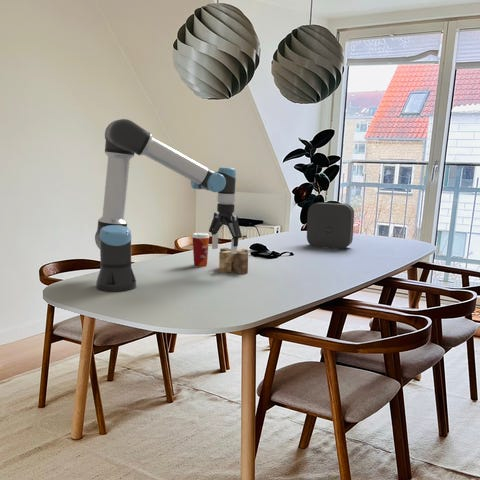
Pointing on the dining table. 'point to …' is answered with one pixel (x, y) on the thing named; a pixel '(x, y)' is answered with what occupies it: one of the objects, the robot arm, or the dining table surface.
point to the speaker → (330, 225)
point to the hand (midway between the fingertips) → (224, 251)
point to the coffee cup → (200, 249)
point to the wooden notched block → (239, 262)
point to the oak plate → (227, 260)
